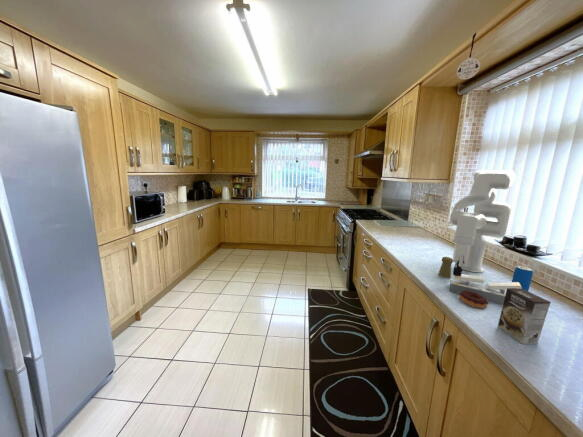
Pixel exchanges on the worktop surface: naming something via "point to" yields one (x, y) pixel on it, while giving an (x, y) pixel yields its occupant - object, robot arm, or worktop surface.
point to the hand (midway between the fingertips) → (456, 275)
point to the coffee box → (523, 315)
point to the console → (478, 290)
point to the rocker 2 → (503, 285)
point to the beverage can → (523, 276)
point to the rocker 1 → (469, 278)
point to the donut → (473, 299)
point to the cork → (446, 267)
